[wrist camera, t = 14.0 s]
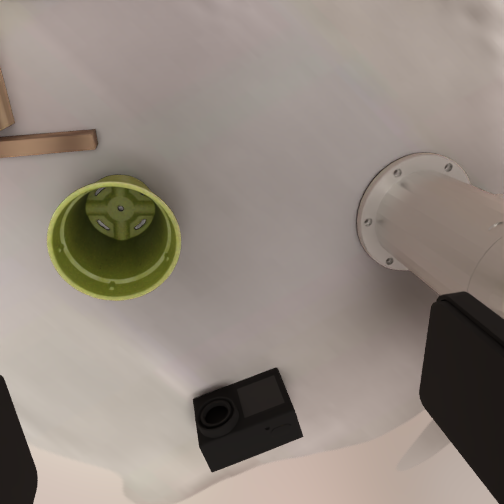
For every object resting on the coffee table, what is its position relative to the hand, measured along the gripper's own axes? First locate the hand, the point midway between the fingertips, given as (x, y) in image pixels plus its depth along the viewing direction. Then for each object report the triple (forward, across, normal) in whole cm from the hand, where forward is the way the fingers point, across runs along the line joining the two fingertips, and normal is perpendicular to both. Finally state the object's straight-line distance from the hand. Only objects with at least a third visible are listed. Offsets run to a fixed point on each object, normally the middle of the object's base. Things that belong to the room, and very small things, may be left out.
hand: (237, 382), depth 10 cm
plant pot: (+32, +5, +6) cm, 33 cm away
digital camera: (+33, -4, +30) cm, 44 cm away
